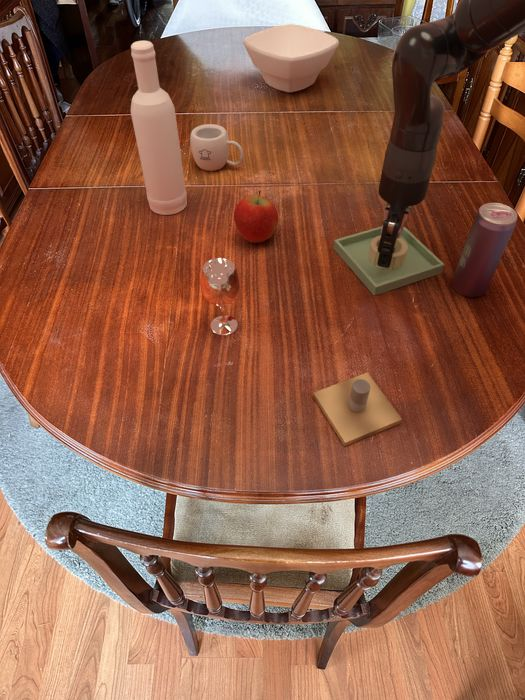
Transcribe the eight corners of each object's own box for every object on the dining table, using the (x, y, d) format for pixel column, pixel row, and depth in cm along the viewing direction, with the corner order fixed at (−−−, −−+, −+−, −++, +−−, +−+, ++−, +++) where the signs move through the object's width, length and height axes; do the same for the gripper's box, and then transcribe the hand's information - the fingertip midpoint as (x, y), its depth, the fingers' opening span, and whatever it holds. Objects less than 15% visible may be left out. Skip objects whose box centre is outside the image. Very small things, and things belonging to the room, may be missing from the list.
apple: (229, 231, 99) (226, 185, 91) (267, 222, 101) (267, 176, 93) (243, 255, 94) (241, 209, 86) (283, 245, 96) (285, 199, 88)
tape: (391, 244, 95) (394, 230, 93) (411, 264, 91) (414, 250, 89) (362, 253, 93) (364, 239, 91) (381, 273, 90) (383, 260, 87)
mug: (187, 171, 113) (182, 137, 108) (201, 153, 119) (197, 120, 113) (237, 179, 111) (236, 145, 105) (249, 161, 116) (249, 127, 110)
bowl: (234, 84, 144) (232, 39, 135) (289, 64, 154) (291, 20, 145) (289, 110, 133) (291, 62, 125) (345, 86, 143) (350, 40, 134)
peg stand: (366, 376, 75) (372, 352, 71) (401, 423, 70) (409, 400, 66) (312, 396, 73) (315, 372, 69) (344, 446, 68) (349, 424, 63)
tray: (396, 229, 99) (398, 221, 97) (441, 273, 90) (444, 264, 89) (333, 248, 95) (334, 240, 94) (373, 295, 87) (375, 287, 85)
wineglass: (221, 344, 80) (215, 287, 71) (199, 324, 83) (190, 266, 73) (249, 326, 82) (246, 269, 73) (226, 307, 85) (222, 250, 76)
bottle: (149, 217, 102) (116, 54, 79) (148, 196, 107) (117, 37, 84) (189, 213, 103) (167, 51, 80) (186, 192, 108) (165, 34, 85)
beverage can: (490, 299, 86) (524, 224, 75) (455, 298, 86) (483, 224, 75) (481, 275, 90) (511, 201, 79) (447, 275, 90) (473, 201, 79)
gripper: (424, 196, 74) (401, 281, 86) (438, 151, 82) (416, 233, 95) (373, 187, 76) (358, 271, 88) (392, 143, 84) (376, 225, 96)
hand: (388, 251), depth 91 cm, fingers open, 8 cm apart
